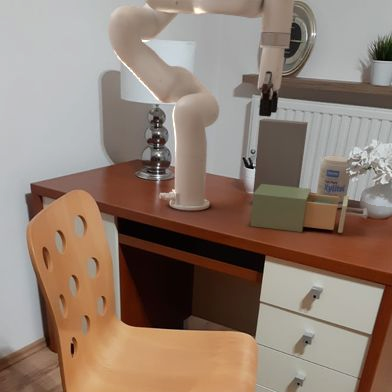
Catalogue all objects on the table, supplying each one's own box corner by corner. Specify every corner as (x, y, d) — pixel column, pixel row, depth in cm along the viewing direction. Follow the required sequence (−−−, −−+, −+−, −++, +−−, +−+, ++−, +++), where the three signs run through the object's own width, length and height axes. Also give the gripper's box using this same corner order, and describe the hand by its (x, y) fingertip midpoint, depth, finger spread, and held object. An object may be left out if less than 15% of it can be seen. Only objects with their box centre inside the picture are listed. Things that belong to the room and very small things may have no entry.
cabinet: (306, 219, 156) (311, 188, 151) (301, 232, 145) (306, 199, 141) (258, 214, 159) (261, 183, 154) (250, 226, 148) (253, 193, 144)
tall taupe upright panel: (297, 205, 170) (308, 121, 157) (293, 209, 165) (304, 124, 152) (257, 199, 174) (264, 118, 161) (251, 203, 169) (258, 120, 156)
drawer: (364, 223, 151) (369, 198, 147) (364, 235, 141) (369, 208, 138) (297, 216, 155) (301, 191, 152) (292, 227, 146) (296, 201, 142)
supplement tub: (321, 209, 166) (329, 161, 158) (310, 201, 174) (317, 155, 166) (349, 209, 168) (358, 161, 160) (337, 201, 176) (345, 155, 168)
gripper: (266, 41, 142) (260, 110, 151) (254, 40, 128) (248, 116, 136) (293, 42, 140) (285, 112, 149) (284, 41, 126) (276, 118, 135)
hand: (267, 114), depth 143 cm, fingers open, 9 cm apart
